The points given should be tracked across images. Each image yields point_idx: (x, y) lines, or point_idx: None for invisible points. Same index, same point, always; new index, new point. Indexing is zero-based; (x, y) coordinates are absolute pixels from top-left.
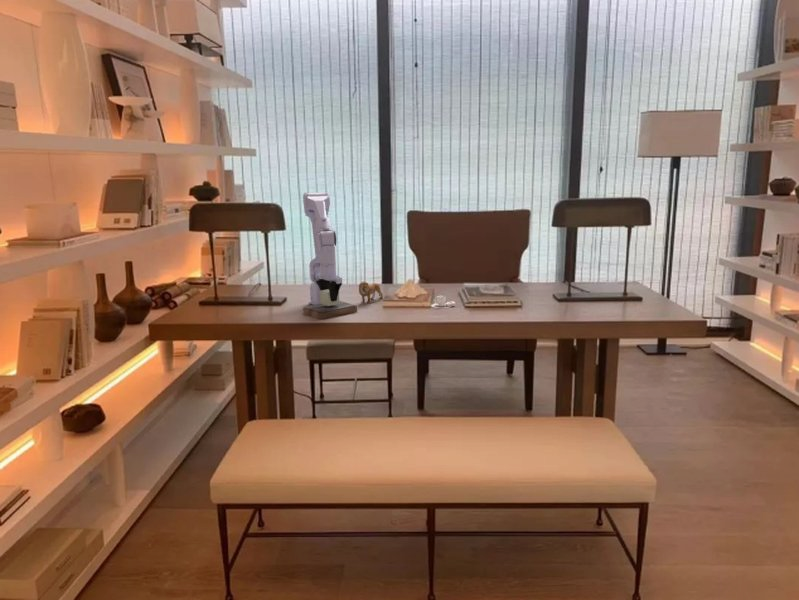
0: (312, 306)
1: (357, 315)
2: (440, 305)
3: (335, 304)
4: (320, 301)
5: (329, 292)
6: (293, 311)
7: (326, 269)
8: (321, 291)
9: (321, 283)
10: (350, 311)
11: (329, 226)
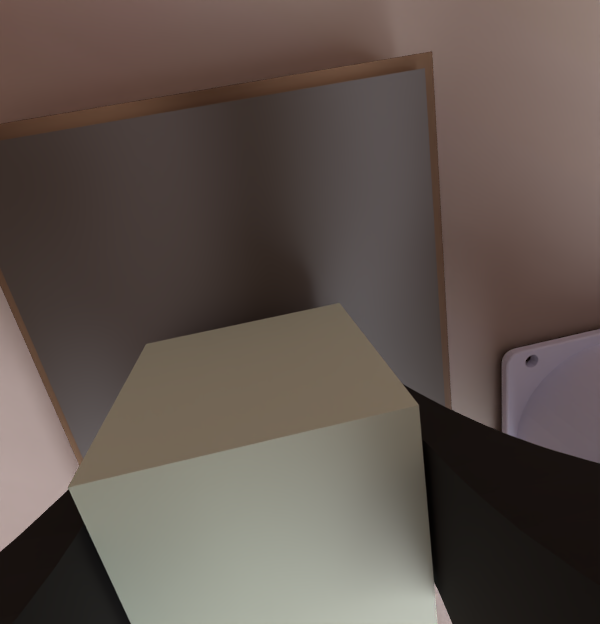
0: (381, 188)
1: (13, 527)
2: None
3: None
4: (583, 382)
5: (89, 528)
6: (574, 9)
7: None
8: (353, 412)
9: (548, 620)
10: None
11: None
